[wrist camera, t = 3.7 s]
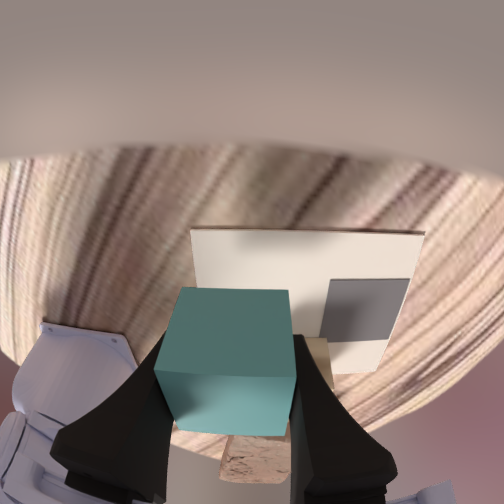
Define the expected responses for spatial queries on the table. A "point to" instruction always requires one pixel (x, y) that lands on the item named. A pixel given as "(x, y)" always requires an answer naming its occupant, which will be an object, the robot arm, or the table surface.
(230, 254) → the plate
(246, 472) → the brick
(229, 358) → the teal block
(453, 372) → the table surface
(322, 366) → the beech block
